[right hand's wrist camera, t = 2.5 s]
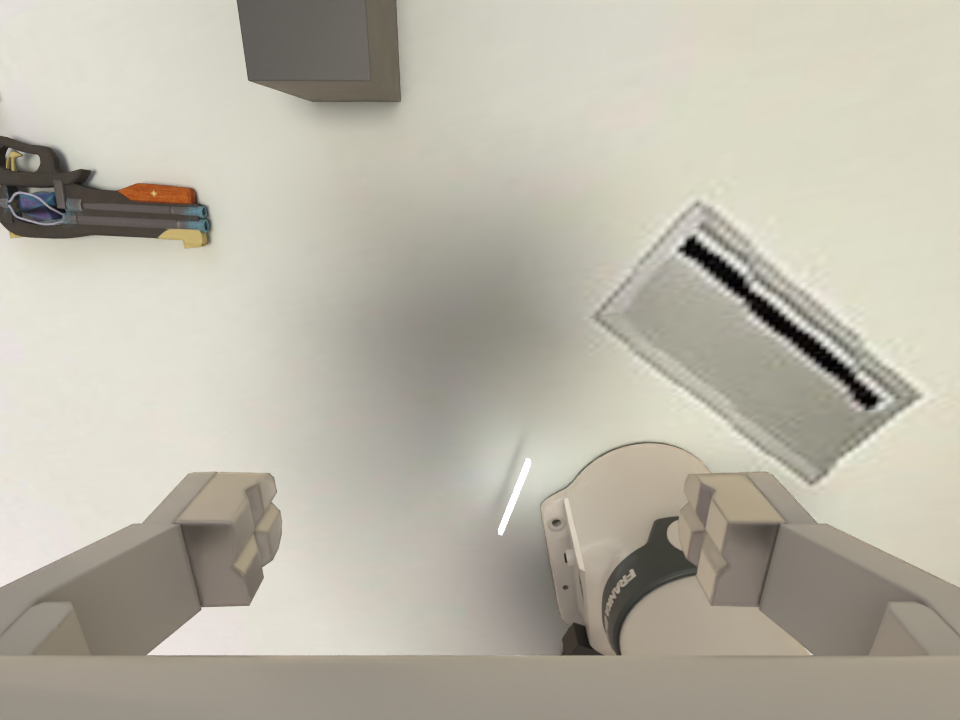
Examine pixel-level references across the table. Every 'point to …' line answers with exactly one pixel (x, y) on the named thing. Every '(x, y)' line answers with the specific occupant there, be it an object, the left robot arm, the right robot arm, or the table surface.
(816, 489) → the table surface
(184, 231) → the toy gun
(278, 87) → the box
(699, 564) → the right robot arm
